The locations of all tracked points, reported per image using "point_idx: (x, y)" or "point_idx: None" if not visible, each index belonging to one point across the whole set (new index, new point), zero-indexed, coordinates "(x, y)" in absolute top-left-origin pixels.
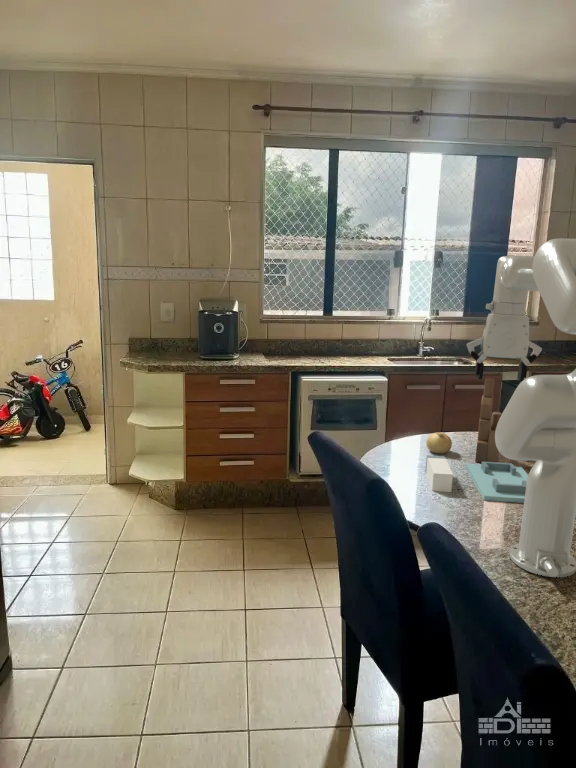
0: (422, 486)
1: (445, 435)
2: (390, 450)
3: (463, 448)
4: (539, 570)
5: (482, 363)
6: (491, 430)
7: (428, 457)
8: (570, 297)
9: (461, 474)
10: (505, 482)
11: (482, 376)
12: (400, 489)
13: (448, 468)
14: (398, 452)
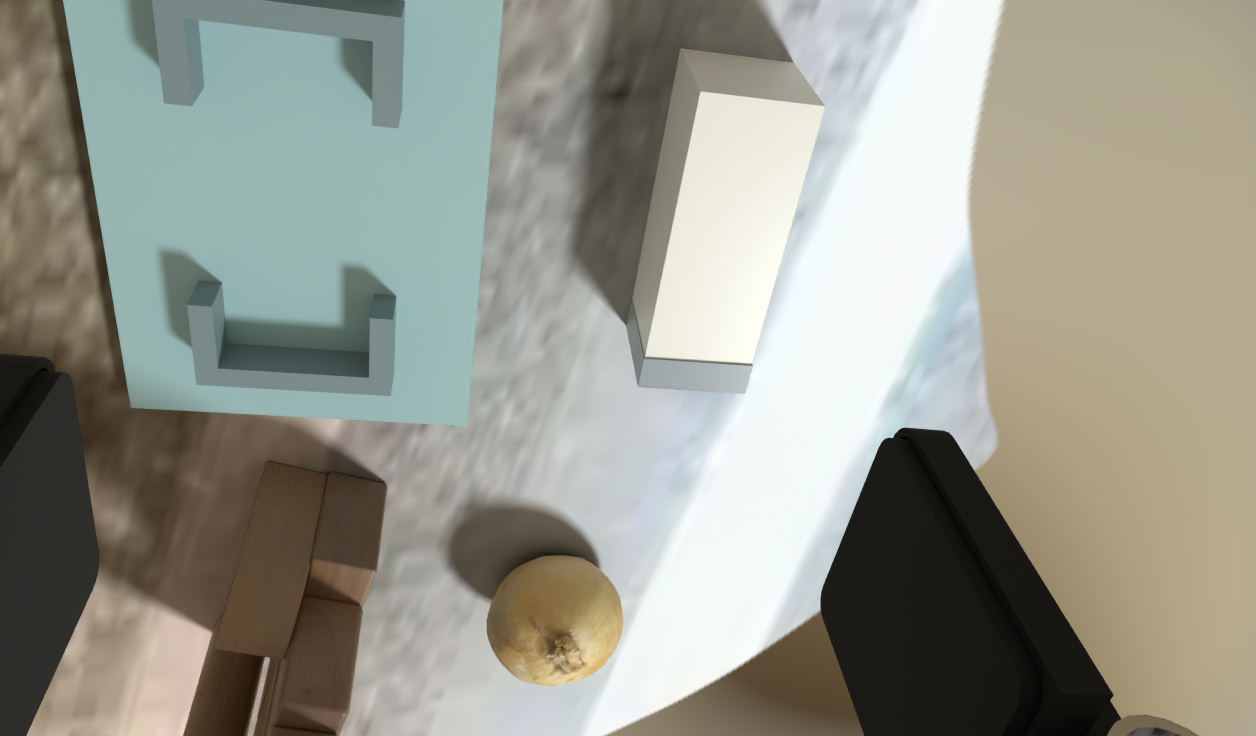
0: (825, 126)
1: (531, 653)
2: (799, 572)
3: (402, 635)
4: None
5: (1064, 711)
6: (273, 655)
7: (745, 364)
8: None
9: (523, 314)
10: (295, 163)
11: (904, 467)
12: (977, 73)
13: (688, 198)
14: (768, 554)
